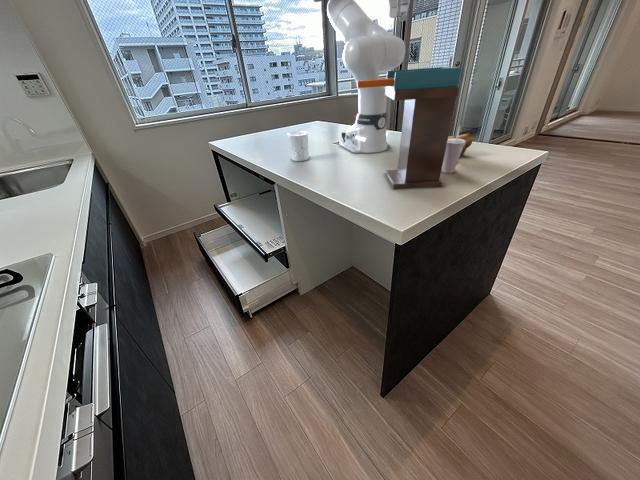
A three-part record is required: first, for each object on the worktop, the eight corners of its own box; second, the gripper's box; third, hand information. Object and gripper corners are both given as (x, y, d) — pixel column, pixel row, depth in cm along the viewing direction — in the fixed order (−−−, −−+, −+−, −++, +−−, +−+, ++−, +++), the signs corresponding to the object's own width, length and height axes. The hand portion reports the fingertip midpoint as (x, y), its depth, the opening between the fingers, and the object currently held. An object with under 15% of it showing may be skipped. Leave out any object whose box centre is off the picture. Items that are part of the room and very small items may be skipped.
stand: (386, 190, 77) (395, 91, 63) (379, 174, 88) (385, 87, 73) (441, 187, 76) (463, 86, 62) (427, 172, 87) (443, 82, 72)
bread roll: (443, 161, 94) (447, 138, 89) (425, 155, 102) (429, 133, 97) (471, 156, 97) (477, 133, 93) (452, 149, 105) (457, 128, 100)
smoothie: (460, 174, 83) (472, 127, 75) (439, 174, 84) (448, 128, 77) (456, 167, 88) (466, 123, 80) (435, 167, 90) (444, 123, 82)
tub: (394, 90, 64) (395, 72, 61) (385, 87, 73) (387, 71, 70) (457, 86, 63) (461, 67, 60) (441, 83, 72) (443, 66, 70)
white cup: (305, 162, 103) (303, 135, 98) (287, 161, 106) (284, 135, 100) (312, 156, 110) (310, 131, 104) (295, 155, 112) (292, 131, 106)
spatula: (358, 88, 66) (358, 81, 65) (356, 86, 71) (356, 80, 70) (439, 83, 64) (440, 75, 64) (431, 81, 69) (432, 74, 69)
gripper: (401, -46, 68) (395, 23, 75) (378, -72, 53) (374, 17, 61) (427, -52, 65) (418, 20, 73) (410, -81, 50) (401, 13, 58)
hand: (398, 19), depth 67 cm, fingers open, 8 cm apart
